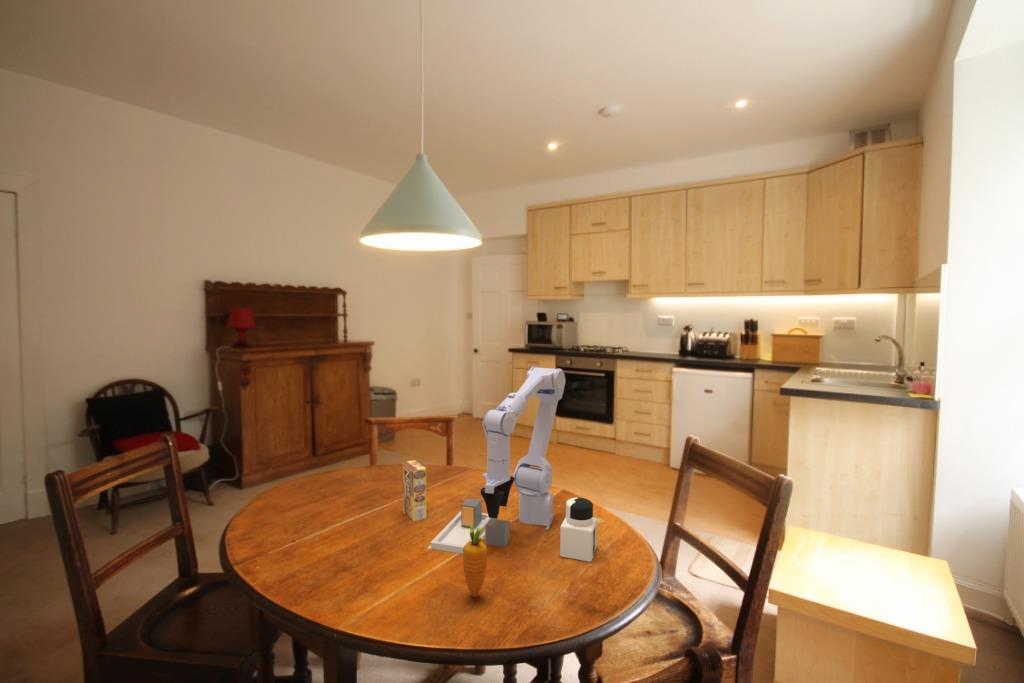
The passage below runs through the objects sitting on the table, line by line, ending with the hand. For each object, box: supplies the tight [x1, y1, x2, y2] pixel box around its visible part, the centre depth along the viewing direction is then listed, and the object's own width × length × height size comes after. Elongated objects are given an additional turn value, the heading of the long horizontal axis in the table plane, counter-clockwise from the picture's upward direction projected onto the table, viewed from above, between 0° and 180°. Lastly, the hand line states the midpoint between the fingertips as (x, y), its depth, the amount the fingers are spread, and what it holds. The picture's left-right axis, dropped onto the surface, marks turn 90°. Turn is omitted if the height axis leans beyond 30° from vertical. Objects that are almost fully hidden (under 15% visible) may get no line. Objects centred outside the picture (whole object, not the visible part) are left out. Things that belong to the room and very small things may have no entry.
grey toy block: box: [460, 497, 483, 529], centre depth 127 cm, size 4×5×6 cm
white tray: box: [427, 510, 494, 555], centre depth 122 cm, size 11×20×2 cm, turn 164°
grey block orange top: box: [484, 518, 511, 548], centre depth 117 cm, size 4×5×6 cm
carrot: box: [462, 524, 488, 598], centre depth 95 cm, size 5×5×15 cm
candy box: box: [402, 460, 427, 522], centre depth 133 cm, size 9×4×15 cm, turn 33°
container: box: [559, 497, 598, 563], centre depth 115 cm, size 8×8×13 cm
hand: (497, 511), depth 117 cm, fingers open, 7 cm apart
